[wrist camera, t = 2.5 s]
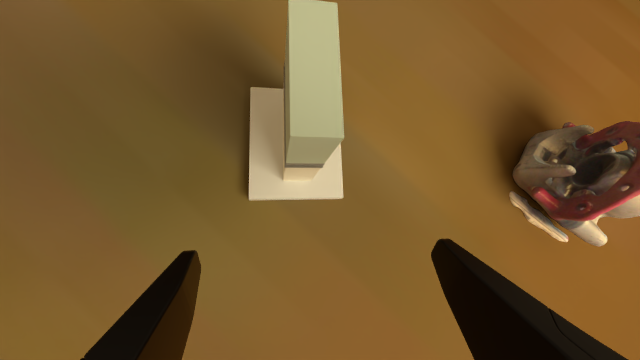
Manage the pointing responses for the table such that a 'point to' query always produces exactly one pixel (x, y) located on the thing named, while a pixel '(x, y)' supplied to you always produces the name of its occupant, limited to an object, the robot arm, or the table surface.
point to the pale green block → (312, 83)
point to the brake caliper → (580, 178)
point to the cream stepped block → (269, 156)
